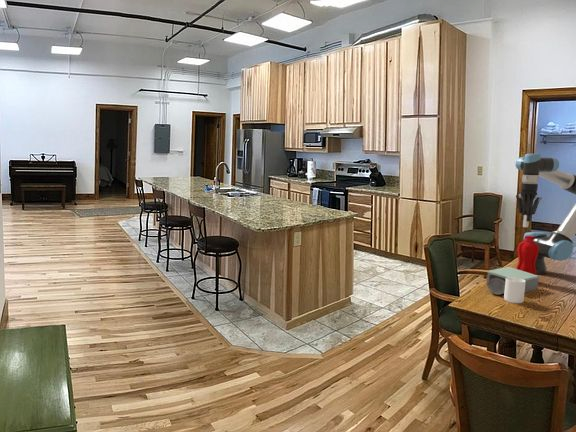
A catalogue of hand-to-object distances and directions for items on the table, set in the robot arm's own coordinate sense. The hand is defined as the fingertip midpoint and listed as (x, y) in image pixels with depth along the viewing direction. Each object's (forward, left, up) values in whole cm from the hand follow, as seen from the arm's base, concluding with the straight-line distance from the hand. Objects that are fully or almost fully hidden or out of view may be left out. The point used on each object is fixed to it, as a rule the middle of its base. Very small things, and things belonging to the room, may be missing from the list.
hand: (525, 226), depth 239 cm
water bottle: (0, +2, -30) cm, 30 cm away
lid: (+17, +6, -23) cm, 29 cm away
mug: (+27, +5, -27) cm, 39 cm away
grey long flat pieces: (+17, +6, -29) cm, 34 cm away
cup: (+34, +18, -30) cm, 49 cm away
